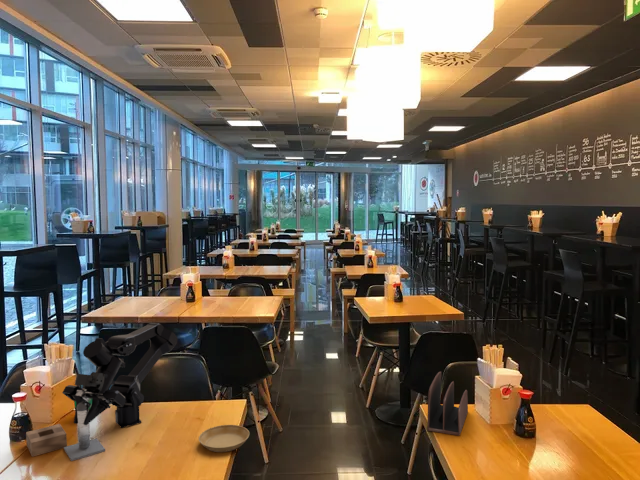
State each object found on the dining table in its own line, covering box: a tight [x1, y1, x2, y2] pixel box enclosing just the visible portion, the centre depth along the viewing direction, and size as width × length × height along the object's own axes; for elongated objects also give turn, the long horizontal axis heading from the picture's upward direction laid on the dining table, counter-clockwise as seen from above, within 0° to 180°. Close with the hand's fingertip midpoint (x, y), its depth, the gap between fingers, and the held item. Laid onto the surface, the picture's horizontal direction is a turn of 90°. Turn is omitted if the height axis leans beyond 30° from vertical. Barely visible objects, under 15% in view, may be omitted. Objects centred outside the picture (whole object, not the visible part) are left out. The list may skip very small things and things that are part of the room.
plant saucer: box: [198, 424, 250, 453], centre depth 146 cm, size 15×15×3 cm
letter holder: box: [426, 371, 469, 437], centre depth 160 cm, size 10×20×14 cm, turn 156°
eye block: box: [25, 423, 68, 458], centre depth 146 cm, size 9×9×4 cm
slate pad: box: [63, 438, 106, 462], centre depth 143 cm, size 9×9×1 cm
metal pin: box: [77, 401, 91, 449], centre depth 143 cm, size 3×3×13 cm
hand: (79, 424), depth 141 cm, fingers closed on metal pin, 3 cm apart
